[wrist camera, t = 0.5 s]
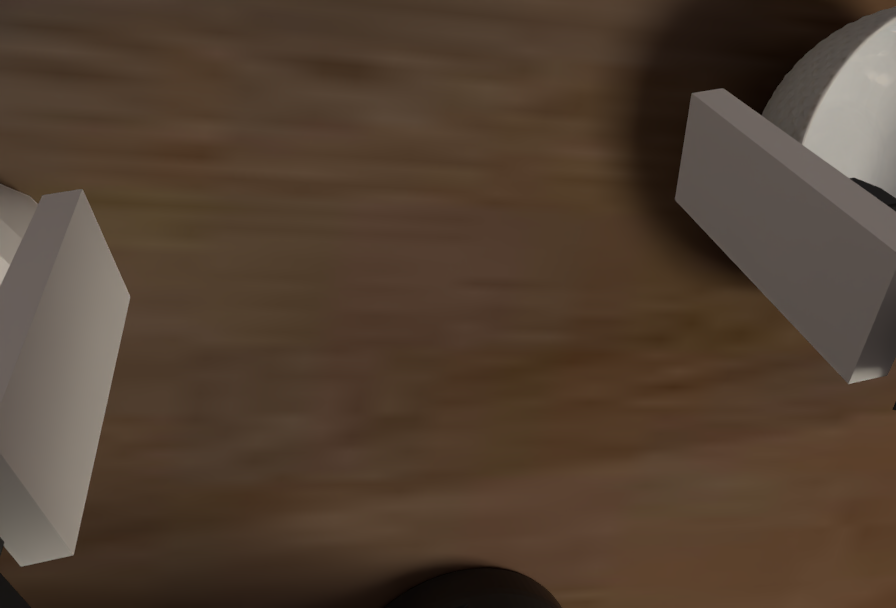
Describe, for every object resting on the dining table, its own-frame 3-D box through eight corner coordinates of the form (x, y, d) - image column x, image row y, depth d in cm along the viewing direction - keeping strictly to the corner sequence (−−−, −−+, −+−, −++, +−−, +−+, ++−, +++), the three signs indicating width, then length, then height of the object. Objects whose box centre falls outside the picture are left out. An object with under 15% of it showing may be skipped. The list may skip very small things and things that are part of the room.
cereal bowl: (640, 200, 38) (729, 219, 32) (824, -53, 38) (953, -87, 31) (811, 357, 45) (913, 399, 38) (968, 144, 44) (1098, 150, 38)
